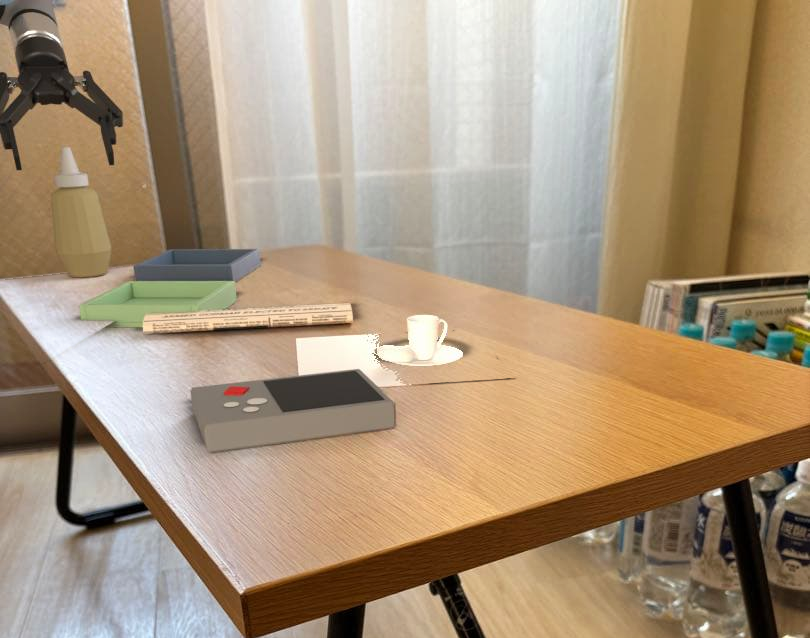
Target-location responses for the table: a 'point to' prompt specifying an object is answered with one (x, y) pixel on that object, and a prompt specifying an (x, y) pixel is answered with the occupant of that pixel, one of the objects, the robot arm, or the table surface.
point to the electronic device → (290, 409)
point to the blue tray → (198, 265)
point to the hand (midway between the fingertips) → (65, 161)
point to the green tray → (157, 300)
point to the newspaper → (247, 318)
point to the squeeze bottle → (78, 222)
